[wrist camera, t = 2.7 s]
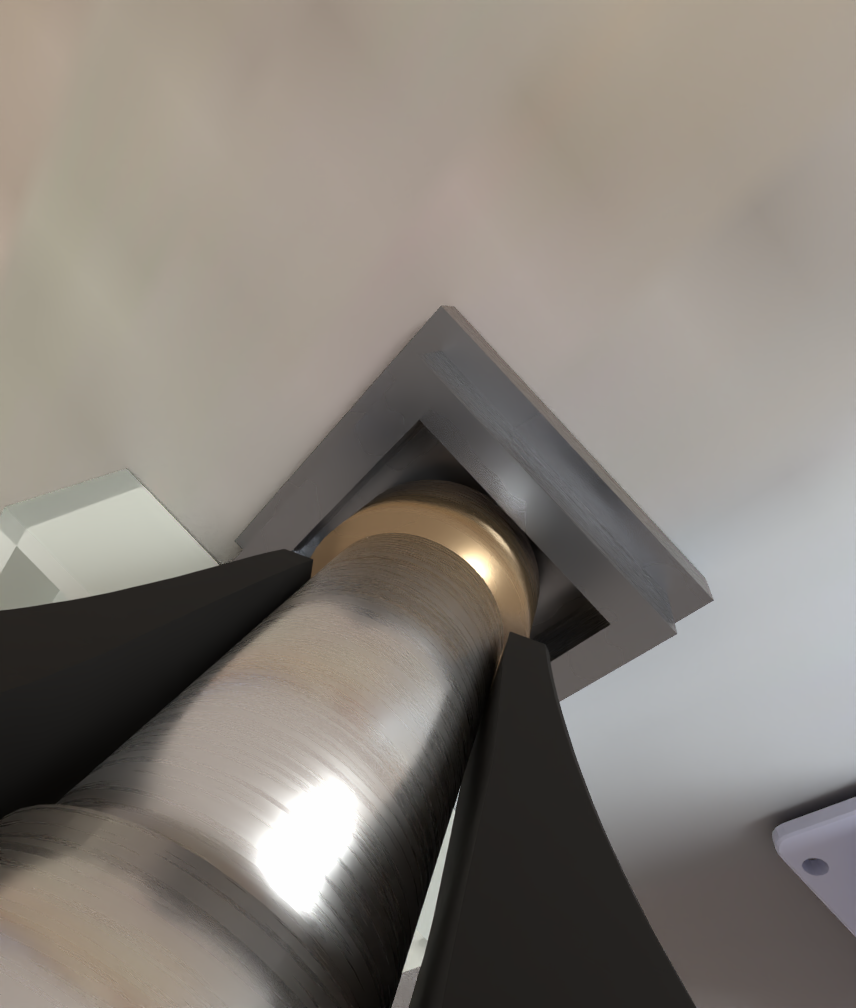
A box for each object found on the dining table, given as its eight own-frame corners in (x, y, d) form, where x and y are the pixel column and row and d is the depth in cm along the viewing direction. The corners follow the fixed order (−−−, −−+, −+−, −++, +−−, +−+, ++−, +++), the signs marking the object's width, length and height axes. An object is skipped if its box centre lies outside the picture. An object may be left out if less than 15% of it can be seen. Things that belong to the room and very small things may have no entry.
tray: (475, 831, 16) (444, 957, 13) (264, 933, 21) (204, 1041, 18) (126, 468, 16) (5, 506, 12) (-2, 663, 21) (-110, 725, 18)
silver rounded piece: (569, 520, 10) (389, 1492, 2) (505, 691, 12) (259, 1605, 3) (365, 452, 11) (-413, 886, 3) (333, 620, 13) (-202, 1211, 4)
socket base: (704, 578, 12) (729, 641, 9) (453, 732, 15) (426, 805, 13) (454, 306, 11) (417, 303, 9) (257, 527, 15) (194, 564, 13)
